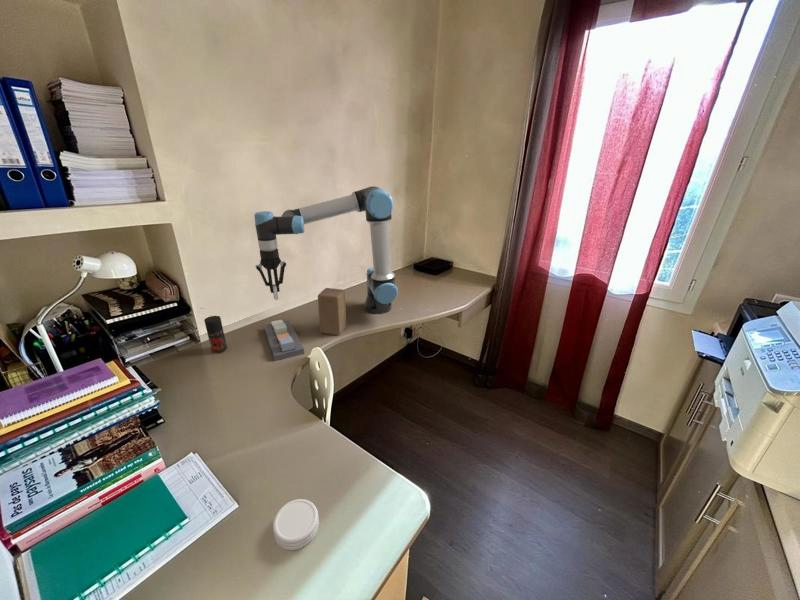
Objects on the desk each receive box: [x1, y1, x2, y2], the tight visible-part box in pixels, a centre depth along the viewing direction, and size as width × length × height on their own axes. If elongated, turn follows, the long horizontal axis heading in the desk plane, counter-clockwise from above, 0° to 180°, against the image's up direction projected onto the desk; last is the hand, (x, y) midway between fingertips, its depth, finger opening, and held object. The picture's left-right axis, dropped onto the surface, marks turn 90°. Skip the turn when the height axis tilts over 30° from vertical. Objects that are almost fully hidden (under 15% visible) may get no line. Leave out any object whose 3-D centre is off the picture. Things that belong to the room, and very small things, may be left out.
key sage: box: [273, 322, 287, 337], centre depth 154 cm, size 5×5×4 cm
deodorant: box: [204, 315, 228, 354], centre depth 142 cm, size 6×6×15 cm
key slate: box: [279, 336, 294, 352], centre depth 142 cm, size 5×5×4 cm
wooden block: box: [317, 287, 347, 336], centre depth 159 cm, size 10×10×20 cm
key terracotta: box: [276, 333, 290, 344], centre depth 149 cm, size 5×5×4 cm
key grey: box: [270, 319, 284, 330], centre depth 160 cm, size 5×5×4 cm
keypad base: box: [263, 319, 305, 361], centre depth 152 cm, size 12×29×2 cm, turn 28°
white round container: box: [272, 498, 320, 551], centre depth 78 cm, size 10×10×4 cm
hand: (276, 298), depth 155 cm, fingers closed
